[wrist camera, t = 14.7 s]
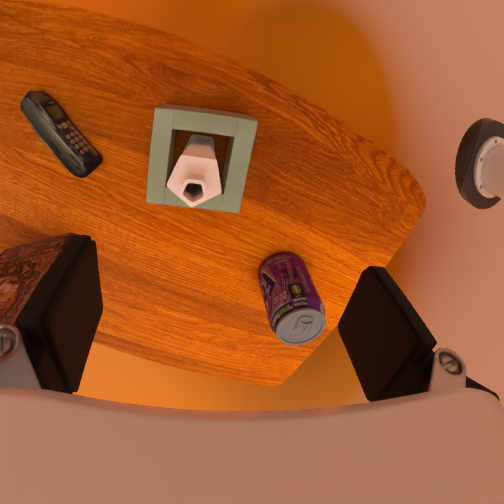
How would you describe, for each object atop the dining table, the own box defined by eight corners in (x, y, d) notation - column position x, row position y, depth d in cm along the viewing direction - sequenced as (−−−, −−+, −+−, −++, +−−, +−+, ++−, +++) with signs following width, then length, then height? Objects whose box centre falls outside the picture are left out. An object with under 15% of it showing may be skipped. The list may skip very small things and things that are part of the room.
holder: (250, 115, 33) (258, 121, 28) (234, 194, 38) (239, 213, 33) (164, 103, 31) (155, 107, 26) (154, 184, 36) (145, 202, 31)
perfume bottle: (209, 173, 36) (208, 229, 23) (176, 158, 35) (156, 207, 22) (227, 141, 34) (237, 179, 22) (194, 125, 33) (182, 153, 20)
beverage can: (269, 244, 43) (289, 301, 33) (312, 258, 45) (340, 312, 35) (250, 283, 46) (262, 343, 36) (291, 294, 48) (311, 351, 38)
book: (78, 230, 37) (-4, 374, 16) (91, 263, 40) (31, 410, 19) (3, 250, 37) (-74, 364, 16) (17, 277, 40) (-48, 394, 19)
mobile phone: (95, 168, 29) (18, 82, 21) (79, 186, 30) (4, 102, 22) (107, 156, 33) (38, 79, 25) (92, 172, 34) (25, 97, 26)
